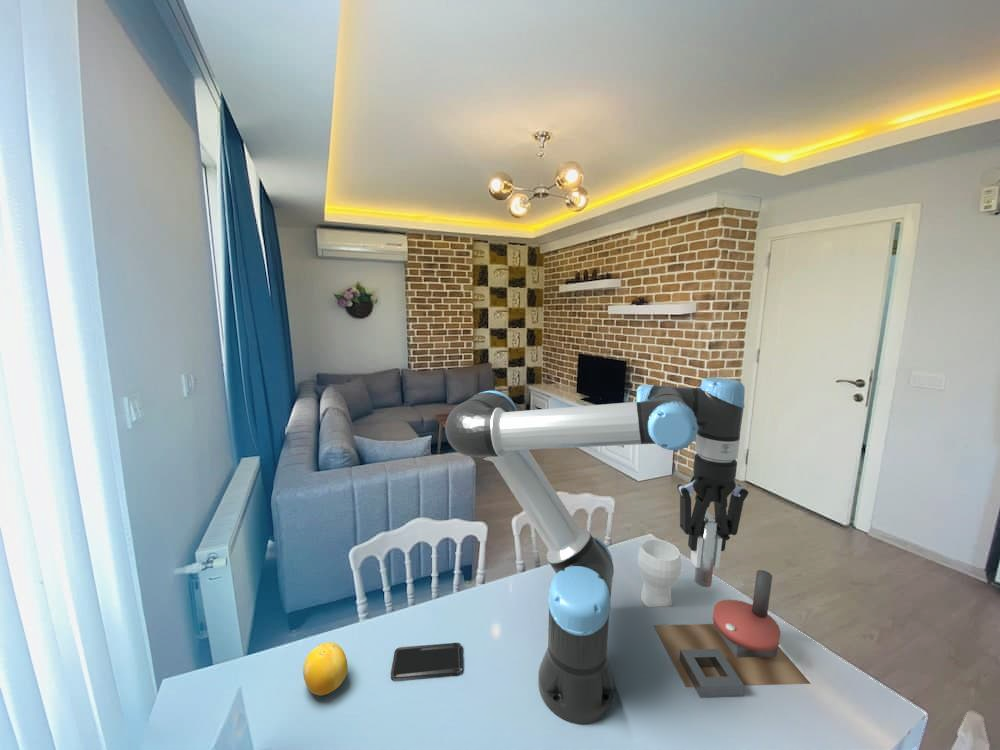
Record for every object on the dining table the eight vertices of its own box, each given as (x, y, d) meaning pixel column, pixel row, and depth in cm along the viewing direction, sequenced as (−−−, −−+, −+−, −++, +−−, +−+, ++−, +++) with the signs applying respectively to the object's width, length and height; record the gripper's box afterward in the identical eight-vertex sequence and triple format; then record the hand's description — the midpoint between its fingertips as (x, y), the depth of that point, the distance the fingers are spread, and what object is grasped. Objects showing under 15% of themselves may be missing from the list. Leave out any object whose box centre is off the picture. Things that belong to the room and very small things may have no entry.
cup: (670, 588, 112) (674, 538, 110) (683, 617, 102) (688, 563, 99) (631, 585, 113) (634, 536, 111) (640, 614, 103) (644, 560, 100)
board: (685, 693, 82) (687, 674, 81) (652, 630, 97) (654, 614, 97) (809, 689, 83) (812, 670, 82) (757, 628, 98) (759, 612, 98)
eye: (700, 697, 79) (701, 686, 79) (679, 659, 88) (680, 649, 87) (742, 696, 79) (744, 685, 79) (718, 658, 88) (719, 648, 88)
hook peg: (698, 586, 83) (705, 520, 81) (687, 571, 88) (693, 508, 86) (714, 587, 83) (721, 520, 81) (702, 571, 88) (708, 508, 86)
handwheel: (700, 617, 95) (705, 571, 93) (736, 600, 101) (741, 556, 99) (755, 660, 84) (762, 608, 82) (792, 638, 89) (799, 589, 87)
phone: (462, 672, 85) (389, 678, 84) (462, 677, 85) (389, 683, 84) (461, 641, 93) (395, 647, 91) (461, 646, 93) (395, 651, 91)
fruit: (357, 679, 84) (355, 646, 83) (323, 712, 77) (320, 676, 76) (330, 660, 89) (327, 628, 87) (295, 690, 82) (292, 655, 80)
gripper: (682, 462, 76) (672, 574, 80) (769, 464, 76) (754, 576, 80) (667, 449, 84) (658, 552, 88) (745, 450, 84) (733, 553, 88)
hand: (704, 563), depth 84 cm, fingers closed on hook peg, 3 cm apart
